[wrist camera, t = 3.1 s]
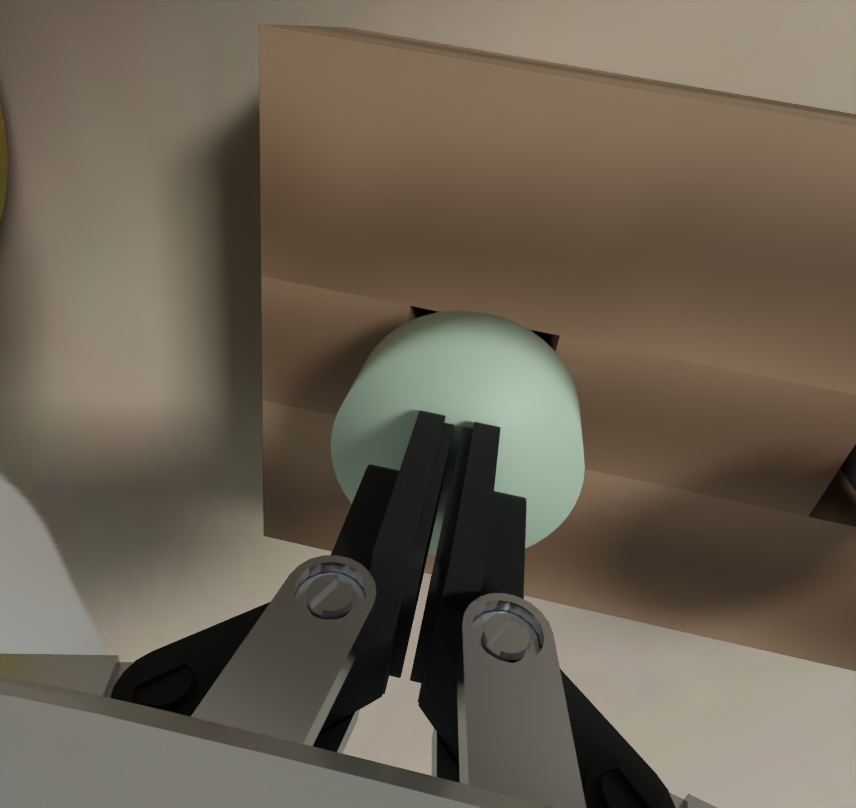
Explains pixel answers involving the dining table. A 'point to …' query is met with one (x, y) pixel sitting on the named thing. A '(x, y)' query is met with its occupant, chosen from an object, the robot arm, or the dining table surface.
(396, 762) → the dining table surface
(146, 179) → the dining table surface
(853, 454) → the red button
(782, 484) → the button panel
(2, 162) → the planter bowl
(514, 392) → the green button
